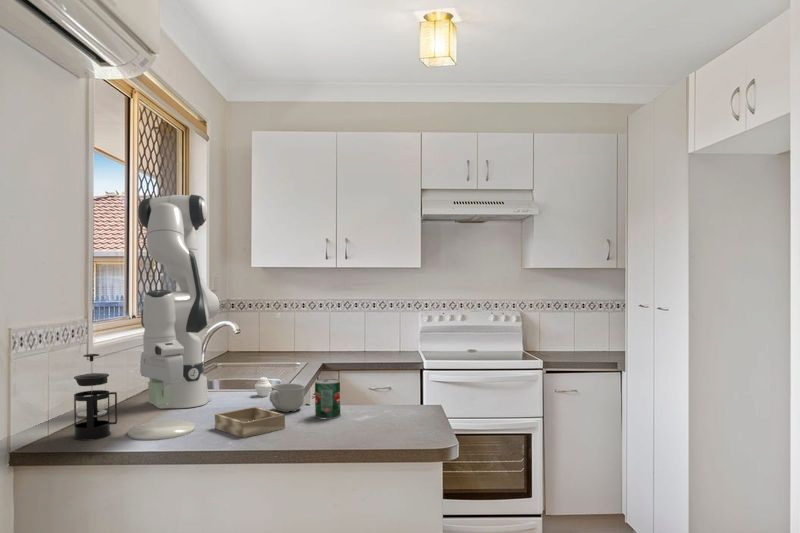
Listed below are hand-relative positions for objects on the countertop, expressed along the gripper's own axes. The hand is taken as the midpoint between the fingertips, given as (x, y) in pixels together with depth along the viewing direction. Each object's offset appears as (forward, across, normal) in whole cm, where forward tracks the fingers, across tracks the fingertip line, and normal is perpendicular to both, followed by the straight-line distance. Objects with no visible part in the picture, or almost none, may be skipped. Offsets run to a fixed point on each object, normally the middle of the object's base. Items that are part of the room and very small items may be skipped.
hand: (161, 394), depth 184 cm
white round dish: (+10, 0, 0) cm, 11 cm away
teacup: (+11, +4, +39) cm, 41 cm away
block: (+2, 0, 0) cm, 2 cm away
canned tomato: (+11, +20, +44) cm, 50 cm away
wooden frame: (+11, +16, +19) cm, 27 cm away
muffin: (+11, -22, +48) cm, 54 cm away
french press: (+10, -10, -15) cm, 21 cm away
